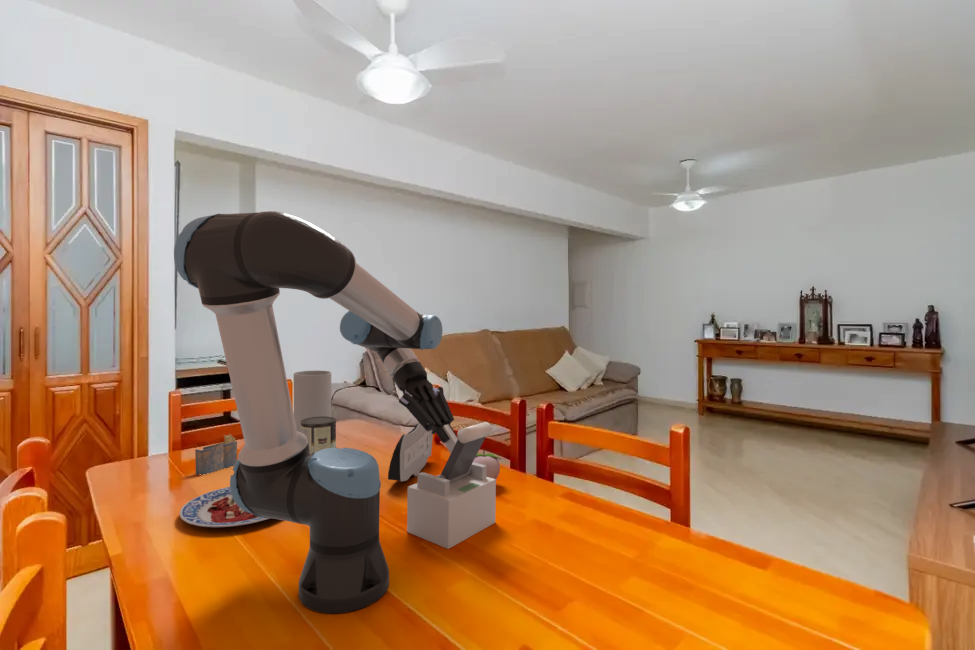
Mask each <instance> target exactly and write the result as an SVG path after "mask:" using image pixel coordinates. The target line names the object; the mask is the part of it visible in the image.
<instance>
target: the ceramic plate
mask: <svg viewBox="0 0 975 650" xmlns="http://www.w3.org/2000/svg"><path fill="white" fill-rule="evenodd" d="M179 517H180V519H181V520H182V521H184V522H185V523H187V524H189V525H192V526H193V525H194V526H197V527H204V528H226V527H227V528H228V527H238V526H245V525H250V524H254V523H259V522H264V521H265V520H266V521H267V520H269V519H271V518H263V517H258V516H256V515H254V514H251V513H248V512H246V511H244V510H242V509H241V508H240V507H238V505H237V504H236V503H235V501H234V499H233V497H232V495H231V491H230V486H227V487H226V486H225V487H223V488H218V489H214V490H211V491H209V492H206V493H203V494H201V495H198V496H196V497H194V498H192V499H191V500H189V501H188V502H187V503H185V504H184V505H182V507H181V508H180V510H179Z"/></svg>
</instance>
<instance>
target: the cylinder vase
mask: <svg viewBox="0 0 975 650" xmlns="http://www.w3.org/2000/svg"><path fill="white" fill-rule="evenodd" d="M293 414H294V419H295V424H296V429H297V431H299V432H301V420H303V419H306V418H311V417H320V416H326V417H332V371H330V370H302V371H296V372H293Z"/></svg>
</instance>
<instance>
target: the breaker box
mask: <svg viewBox="0 0 975 650" xmlns="http://www.w3.org/2000/svg"><path fill="white" fill-rule="evenodd" d="M486 468H487V466H486V465H482V464H478V463H475V462H473V463H472V465H471V469H472V474H471V475H470V476H467V477H465V478H462V479H460V480H457V481H455V482H452V483H450V480H447V479H444V478H440V477H437V476H439V475H441V473H440V474H437V475H433V474H431V473H426V472H424V471H423V472H421V471H420V472H419V473H418V475H417V476H416V477H417V480H416V482H417V483H414V484H411V485H409V486H407V495H406V496H407V511H406V512H407V515H406V517H407V518H406V519H407V520H406V522H407V523H406V525H407V526H406V533H409V534H411V535H414V536H417V537H419V538H420V539H423V540H425V541H429V542H430V543H433V544H434V545H435V544H436V545H438V546H440V547H442V548H445V549H447V550H448V549H451V548H452V547H455V546H456V545H458V544H460V543H462V542H463V541H465V540H467V539H468V538H470V537H472V536H474V535H476V534H477V533H479V532H481V531H483V530H485V529H486V528H488V527H490V526H492V525H493V524H495V523H496V506H497V505H496V504H497V503H496V502H497V501H496V499H497V498H496V497H497V496H496V495H497V493H496V492H497V488H496V487H497V478H496V479H493V478H489V477H486Z"/></svg>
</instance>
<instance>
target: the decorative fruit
mask: <svg viewBox="0 0 975 650" xmlns="http://www.w3.org/2000/svg"><path fill="white" fill-rule="evenodd" d="M485 452H486V450H483V453H479V452H478V453H477V455H476V457H475V459H474V461H473V462H475V463H478V464H482V465H486V466H487V468H486V477H489V478H493V479H496V480H497V478H498V477H499V474H500V471H501V470H500V469H501V467H500V464H501V463H500V461H499V460H501V459H502V458H501V457H500V456H498V455H497V454H495V453H493V452H492V453H490V452H489V453H485Z"/></svg>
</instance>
